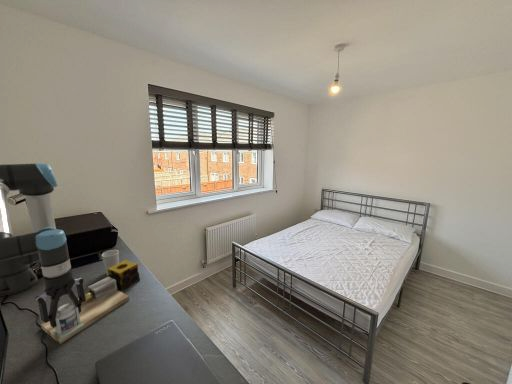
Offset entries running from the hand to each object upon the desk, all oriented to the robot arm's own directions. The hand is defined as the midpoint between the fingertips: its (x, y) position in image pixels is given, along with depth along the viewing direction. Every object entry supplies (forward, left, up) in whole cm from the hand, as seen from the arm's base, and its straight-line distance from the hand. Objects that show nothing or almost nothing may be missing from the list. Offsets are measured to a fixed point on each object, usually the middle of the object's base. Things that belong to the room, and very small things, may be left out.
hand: (68, 326), depth 81 cm
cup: (-27, +32, -3) cm, 42 cm away
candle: (-11, +29, -3) cm, 31 cm away
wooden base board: (-4, +9, -3) cm, 10 cm away
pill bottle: (0, 0, -1) cm, 1 cm away
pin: (-9, +11, +1) cm, 14 cm away
